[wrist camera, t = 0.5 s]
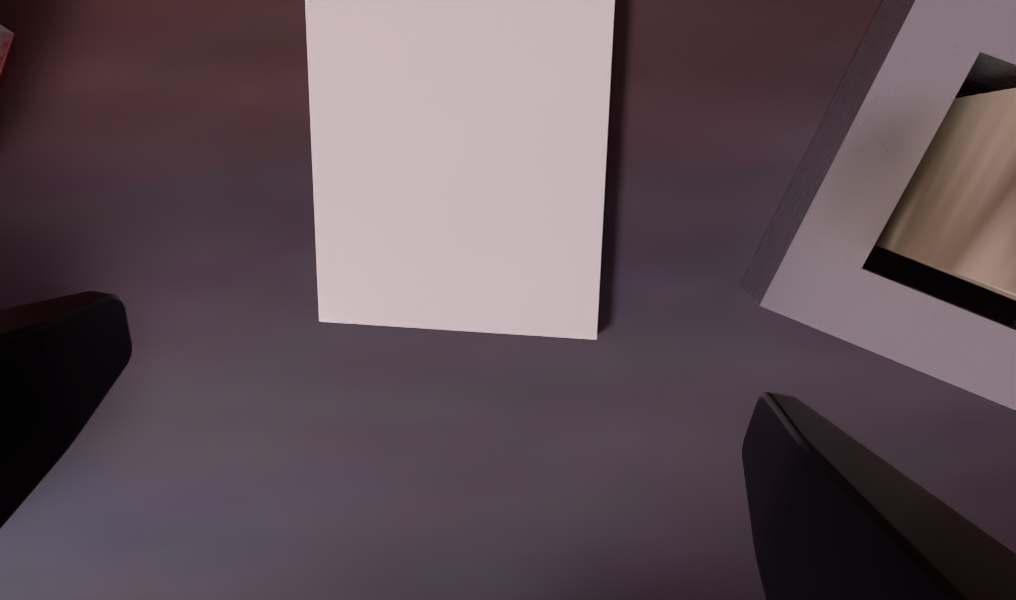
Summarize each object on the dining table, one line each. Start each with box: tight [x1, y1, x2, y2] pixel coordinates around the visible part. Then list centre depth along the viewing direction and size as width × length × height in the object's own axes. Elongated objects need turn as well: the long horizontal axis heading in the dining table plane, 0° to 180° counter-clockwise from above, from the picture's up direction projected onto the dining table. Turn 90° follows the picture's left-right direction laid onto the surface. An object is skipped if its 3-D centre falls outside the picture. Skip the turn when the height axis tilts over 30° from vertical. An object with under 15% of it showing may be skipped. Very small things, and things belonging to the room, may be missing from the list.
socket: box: [741, 0, 1016, 410], centre depth 18 cm, size 10×10×3 cm
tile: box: [305, 0, 615, 340], centre depth 22 cm, size 14×10×1 cm
